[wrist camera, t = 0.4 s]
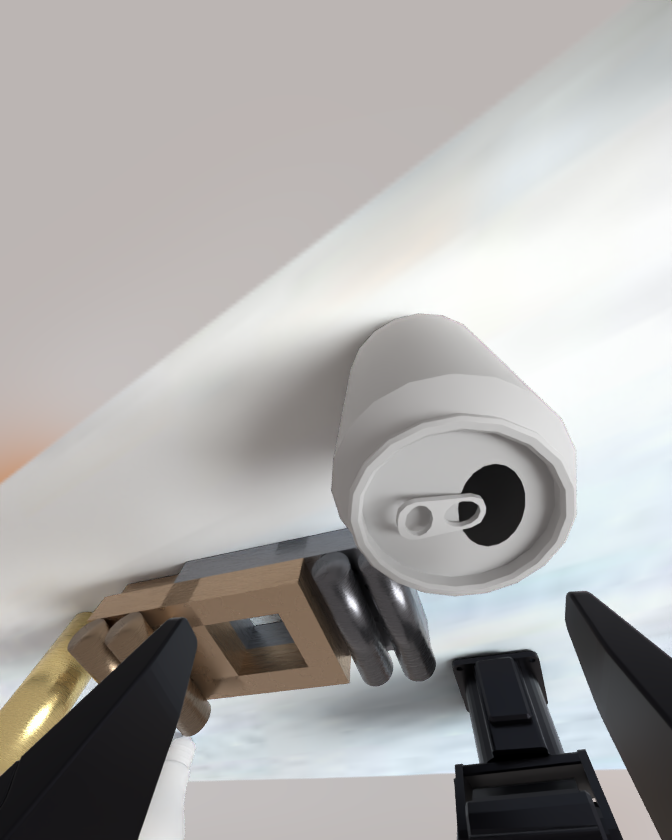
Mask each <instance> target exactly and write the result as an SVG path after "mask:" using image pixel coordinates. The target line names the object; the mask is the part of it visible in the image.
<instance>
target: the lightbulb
mask: <svg viewBox="0 0 672 840" xmlns="http://www.w3.org/2000/svg"><path fill="white" fill-rule="evenodd" d="M195 750H196V746H195V743H194V742H193V741H192V738H191V737H190V736H189V737H186V736H182V737H181V738H176V739H175V740H174V741H173V742H172V744H171V746H170V748H169V750H168V753H167V756H166V759H165V762H164V765H163V768H162V771H161V774H160V777H159V780H158V782H157V785H156V788H155V791H154V794H153V797H152V800H151V803H150V806H149V809H148V812H147V815H146V818H145V821H144V824H143V826H142V829H141V832H140V835H139V838H138V840H184V837H185V817H184V800H185V793H186V788H187V784H188V780H189V777H190V771H189V770H190V766H191V763H192V760H193V757H194V753H195Z"/></svg>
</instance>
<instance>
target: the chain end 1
mask: <svg viewBox="0 0 672 840" xmlns="http://www.w3.org/2000/svg"><path fill="white" fill-rule="evenodd" d="M178 575H179V574H178ZM178 575H173V576H168V577H163V578H158V579H153V580H148V581H143V582H138V583H133V584H128V585H127V586H126V588H125V589H124V591H123V592H122V593H121V594H117V595H112V596H107V597H105V598H104V599H103V600H102V602H101V603H100V604H99V606H98V607H97V608H96V610H95V611H94V612H93V614H92V615H91V616H90V617H89V619H88V620H87V622H88V624H86V625H85V626H83V627H82V628H81V629H80V630H79V631H78V632H77V633H76V634H75V635H74V636H73V637H72V639H71V640H70V642H69V644H68V647H67V650H68V652H69V653H70V654H71V655H72V656H73V657H74V658H75V659H76V660H77V661H78V662H79V663H80V665H81V666H82V667H83V668H84V669H85V670H86V671H87V672H88V673H89V674H90V675H91V677H92V678H93V679H94V680H95V681H96V682H97V683H98V684H99V683H100V682H101V681H102V680H103V679H105V678H106V677H107V676H108V675H109V674H110V673H111V672H112V671H113V670H114V669H115V668H116V667H117V666H118V665H120V664H121V663H122V662H123V661H124V660H125V659H126V658H127V657H128V656H129V655H130V654H131V653H132V652H133V651H134V650H135V649H137V648H138V647H139V646H140V645H141V644H142V643H143V642H144V641H145V640H146V639H147V638H148V637H149V636H150V635H152V634H153V633H154V632H155V631H156V630H157V629H158V628H159V627H160V626H161V625H162V624H163V623H164V622H165V621H167V620H168V619H170V618H175V617H185V618H186V619H187V620H188V622H189V624H190V626H191V627H192V629H193V631H194V633H195V635H196V637H197V651H196V655H195V659H194V663H193V667H192V671H191V675H190V679H189V683H188V687H187V691H186V695H185V699H184V703H183V707H182V710H181V714H180V717H179V720H178V723H177V727H176V728H177V729H178V730H179V731H180V732H181V734H182V735H183V736H186V737H189V736H193V735H195V734H196V733H198V732H199V731H200V730H201V729H202V728H203V727H204V726H205V724H206V723H207V721H208V719H209V716H210V713H211V706H210V704H209V702H208V701H207V700H209V699H218V698H226V697H235V696H244V695H252V694H261V693H270V692H278V691H287V690H295V689H304V688H313V687H321V686H330V685H339V684H347V683H349V682H350V665H351V654H350V652H349V650H348V648H347V646H346V644H345V642H344V640H343V638H342V636H341V634H340V632H339V630H338V628H337V626H336V624H335V622H334V620H333V618H332V616H331V614H330V612H329V609H328V607H327V605H326V603H325V601H324V599H323V597H322V595H321V593H320V591H319V589H318V587H317V585H316V583H315V581H314V579H313V577H312V575H311V573H310V571H309V569H308V567H307V565H306V563H305V560H304V558H300V559H295V560H290V561H285V562H280V563H275V564H270V565H265V566H260V567H255V568H249V569H244V570H239V571H234V572H229V573H224V574H219V575H214V576H209V577H204V578H199V579H193V580H188V581H183V582H178V583H174V582H175V580H176V578H177V576H178ZM277 613H278V614H279V616H280V617H281V619H282V621H283V623H284V624H285V626H286V628H287V630H288V632H289V633H290V635H291V637H292V639H293V640H294V642H295V643H288V644H282V645H275V646H268V647H261V648H254V649H246V648H245V646H244V644H243V643H242V641H241V640H240V638H239V637H238V635H237V634H236V632H235V630H234V629H233V627H232V626H231V624H230V623H229V621H235V620H241V619H247V618H253V617H259V616H265V615H271V614H277Z"/></svg>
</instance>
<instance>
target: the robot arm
mask: <svg viewBox="0 0 672 840" xmlns="http://www.w3.org/2000/svg"><path fill="white" fill-rule="evenodd" d="M565 622H566V626H567V630H568V632H569V635H570V638H571V640H572V643H573V646H574V648H575V651H576V654H577V656H578V659H579V661H580V664H581V667H582V669H583V672H584V675H585V677H586V680H587V683H588V685H589V688H590V690H591V693H592V696H593V698H594V701H595V703H596V706H597V708H598V711H599V713H600V715H601V717H602V719H603V721H604V724H605V726H606V728H607V730H608V732H609V734H610V736H611V738H612V740H613V742H614V744H615V746H616V748H617V750H618V752H619V754H620V756H621V758H622V760H623V762H624V764H625V766H626V768H627V770H628V772H629V774H630V776H631V778H632V780H633V782H634V784H635V787H636V789H637V791H638V793H639V795H640V797H641V799H642V801H643V803H644V805H645V807H646V809H647V811H648V813H649V815H650V817H651V819H652V821H653V823H654V825H655V827H656V829H657V831H658V833H659V835H660V837H661V839H662V840H672V658H671V657H670V656H669V655H667V654H666V653H665V652H664V651H662V650H661V649H660V648H659V647H657V646H656V645H655V644H654V643H652V642H651V641H650V640H649V639H648V638H646V637H645V636H644V635H643V634H641V633H640V632H639V631H638V630H636V629H635V628H634V627H633V626H631V625H630V624H629V623H628V622H626V621H625V620H624V619H623V618H621V617H620V616H619V615H618V614H616V613H615V612H614V611H613V610H611V609H610V608H609V607H608V606H606V605H605V604H604V603H603V602H601V601H600V600H599V599H598V598H596V597H595V596H594V595H593V594H591V593H590V592H587V591H574V592H568V593H567V595H566V607H565ZM196 651H197V637H196V635H195V633H194V631H193V629H192V627H191V626H190V624H189V622H188V620H187V619H186V618H185V617H175V618H170V619H168V620H167V621H165V622H164V623H163V624H162V625H161V626H160V627H159V628H158V629H157V630H156V631H155V632H154V633H153V634H152V635H150V636H149V637H148V638H147V639H146V640H145V641H144V642H143V643H142V644H141V645H140V646H139V647H138V648H137V649H135V650H134V651H133V652H132V653H131V654H130V655H129V656H128V657H127V658H126V659H125V660H124V661H123V662H122V663H121V664H120V665H118V666H117V667H116V668H115V669H114V670H113V671H112V672H111V673H110V674H109V675H108V676H107V677H106V678H105V679H103V680H102V681H101V682H100V683H99V684H98V685H97V686H96V687H95V688H94V689H93V690H92V691H91V692H90V693H89V694H88V695H86V696H85V697H84V698H83V699H82V700H81V701H80V702H79V703H78V704H77V705H76V706H75V707H74V708H73V709H71V710H70V711H69V712H68V713H67V714H66V715H65V716H64V717H63V718H62V719H61V720H60V721H59V722H58V723H57V724H55V725H54V726H53V727H52V728H51V729H50V730H49V731H48V732H47V733H46V734H45V735H44V736H43V737H42V738H41V739H39V740H38V741H37V742H36V743H35V744H34V745H33V746H32V747H31V748H30V749H29V750H28V751H27V752H26V753H25V754H23V755H22V756H21V758H20V760H18V761H16V762H15V763H14V764H13V765H12V766H11V767H9V768H8V769H7V770H6V771H5V772H4V773H3V774H2V775H1V776H0V840H138V838H139V835H140V832H141V829H142V826H143V824H144V821H145V818H146V815H147V812H148V809H149V806H150V803H151V800H152V797H153V794H154V791H155V788H156V785H157V782H158V780H159V777H160V774H161V771H162V768H163V765H164V762H165V759H166V756H167V753H168V750H169V747H170V744H171V741H172V738H173V736H174V733H175V730H176V727H177V723H178V720H179V717H180V714H181V710H182V707H183V703H184V699H185V695H186V691H187V687H188V683H189V679H190V675H191V671H192V667H193V663H194V659H195V655H196ZM452 667H453V671H454V674H455V677H456V680H457V683H458V686H459V689H460V692H461V695H462V698H463V700H464V703H465V706H466V709H467V711H468V712H470V717H471V722H472V727H473V732H474V738H475V743H476V748H477V753H478V758H479V764H471V765H463V764H456V765H455V774H456V778H455V779H454V784H455V799H456V813H457V840H623V838H622V836H621V833H620V831H619V829H618V826H617V824H616V821H615V819H614V817H613V814H612V812H611V809H610V807H609V805H608V802H607V800H606V797H605V795H604V793H603V790H602V788H601V786H600V783H599V781H598V778H597V776H596V774H595V771H594V769H593V767H592V764H591V762H590V759H589V757H588V755H587V752H586V750H585V749H582V750H577V752H572V753H564V751H563V748H562V745H561V743H560V740H559V737H558V734H557V732H556V729H555V726H554V724H553V721H552V718H551V715H550V713H549V710H548V707H547V704H548V701H547V696H546V691H545V686H544V681H543V676H542V671H541V666H540V661H539V658H538V655H537V653H536V652H533V651H527V652H519V653H510V654H502V655H494V656H486V657H478V658H469V659H461V660H455V661H453V662H452ZM592 798H595V800H596V802H593V800H592Z"/></svg>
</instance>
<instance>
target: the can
mask: <svg viewBox="0 0 672 840" xmlns="http://www.w3.org/2000/svg"><path fill="white" fill-rule="evenodd" d="M576 484H577V474H576V449H575V446H574V444H573V442H572V440H571V438H570V435H569V433H568V431H567V429H566V427H565V424H564V422H563V420H562V418H561V417H560V416H559V415H558V414H557V413H556V412H554V411H553V410H552V409H551V408H550V407H549V406H548V405H547V404H546V403H545V402H544V401H543V400H542V399H541V398H540V397H539V396H538V395H537V394H536V393H535V392H534V391H533V390H532V389H531V388H530V387H529V386H528V385H526V384H525V383H524V382H523V381H522V380H521V379H520V378H519V377H518V376H517V375H516V374H515V373H514V372H513V371H512V370H511V369H510V368H509V367H508V366H507V365H506V364H505V363H504V362H503V361H502V360H501V359H499V358H498V357H497V356H496V355H495V354H494V353H493V352H492V351H491V350H490V349H489V348H488V347H487V346H486V345H485V344H484V343H483V342H482V341H481V340H480V339H479V338H478V337H477V336H475V335H474V334H473V333H472V332H471V331H470V330H469V329H468V328H467V327H466V326H465V325H464V324H461V323H459V322H457V321H454V320H452V319H450V318H447V317H445V316H443V315H432V314H414V315H410V316H406V317H402V318H397V319H394V320H392V321H391V322H389V323H387V324H386V325H384V326H383V327H381V328H379V329H378V330H376V331H374V332H373V333H372V335H371V336H370V337H369V338H368V339H367V340H366V341H365V343H364V344H363V345H362V346H361V347H360V348H359V350H358V353H357V355H356V357H355V360H354V362H353V364H352V367H351V370H350V375H349V380H348V385H347V391H346V396H345V401H344V406H343V411H342V417H341V422H340V427H339V432H338V438H337V443H336V448H335V453H334V458H333V472H332V488H331V491H332V494H333V497H334V500H335V504H336V507H337V510H338V513H339V516H340V519H341V520H342V521H343V523H344V524H345V525H346V527H347V528H348V529H349V531H350V532H351V533H352V535H353V539H354V542H355V545H356V546H357V547H358V548H359V550H360V551H361V552H362V554H363V555H364V556H365V558H366V559H367V560H368V561H369V563H370V564H371V565H372V566H373V567H374V568H376V569H377V570H379V571H380V572H381V573H383V574H384V575H386V576H387V577H389V578H390V579H391V580H393V581H394V582H396V583H399V584H402V585H405V586H407V587H410V588H413V589H416V590H418V591H421V592H424V593H432V594H441V595H449V596H463V595H472V594H482V593H488V592H491V591H494V590H497V589H500V588H503V587H506V586H509V585H512V584H515V583H518V582H519V581H521V580H522V579H524V578H526V577H527V576H529V575H530V574H532V573H534V572H535V571H537V570H538V569H540V568H541V567H543V566H545V565H546V563H547V562H548V561H549V560H550V559H551V558H552V557H553V556H554V554H555V553H556V552H557V551H558V550H559V549H560V548H561V547H562V545H563V544H564V543H565V542H566V540H567V537H568V535H569V533H570V530H571V528H572V525H573V523H574V520H575V518H576V515H577V485H576Z"/></svg>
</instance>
